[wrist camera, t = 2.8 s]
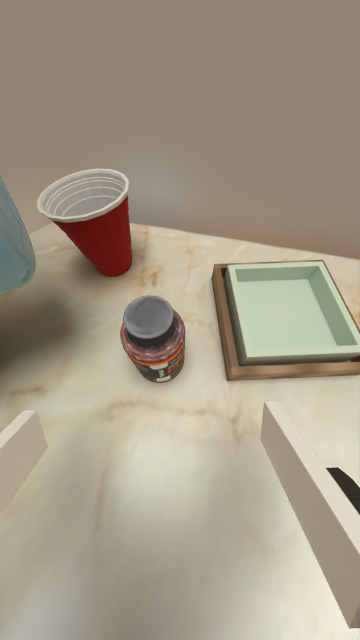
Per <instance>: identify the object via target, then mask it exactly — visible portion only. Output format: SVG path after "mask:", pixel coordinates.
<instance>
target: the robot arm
mask: <svg viewBox="0 0 360 640" xmlns="http://www.w3.org/2000/svg"><path fill="white" fill-rule="evenodd" d="M35 268H36V261H35V255H34V251H33V247H32V244H31V241H30V238H29V236H28V233H27V230H26V228H25V226H24V223H23V221H22V219H21V217H20V215H19V212H18V210H17V208H16V206H15V204H14V202H13V200H12V198H11V196H10V194H9V192H8V190H7V188H6V186H5V184H4V182H3V181H2V179H1V177H0V295H3V294H5V293H8V292H10V291H12V290H15V289H17V288H19V287H22V286H24V285H25V284H27V283H28V282H29V281H30V280H31V279H32V277H33V275H34V272H35ZM260 439H261V442H262V444H263V446H264V448H265V450H266V452H267V454H268V456H269V459H270V461H271V463H272V465H273V467H274V469H275V471H276V473H277V476H278V478H279V480H280V482H281V484H282V486H283V488H284V490H285V493H286V495H287V497H288V499H289V501H290V503H291V505H292V507H293V510H294V512H295V514H296V516H297V518H298V520H299V522H300V525H301V527H302V529H303V531H304V533H305V535H306V537H307V539H308V542H309V544H310V546H311V548H312V550H313V552H314V554H315V556H316V559H317V561H318V563H319V565H320V567H321V569H322V571H323V573H324V576H325V578H326V580H327V582H328V584H329V586H330V588H331V590H332V593H333V595H334V597H335V599H336V601H337V603H338V605H339V607H340V610H341V612H342V614H343V616H344V618H345V620H346V622H347V624H348V627H349V628H360V488H359V487H358V485H357V484H356V483H355V482H354V480H353V479H351V478H350V477H349V476H348V475H347V474H345V473H344V472H343V471H342V470H340V469H339V468H325V466H324V465H323V464H322V462H321V461H320V459H319V458H318V457H317V455H316V454H315V452H314V451H313V450H312V448H311V447H310V446H309V444H308V443H307V441H306V440H305V439H304V437H303V436H302V434H301V433H300V432H299V430H298V429H297V428H296V426H295V425H294V423H293V422H292V421H291V419H290V418H289V416H288V415H287V414H286V412H285V411H284V409H283V408H282V407H281V405H280V404H279V403H278V401H264V408H263V418H262V428H261V438H260ZM46 449H47V444H46V440H45V437H44V433H43V430H42V426H41V423H40V419H39V415H38V412H37V410H24V411H23V412H22V413H21V414H20V415H18V416H17V417H16V418H15V419H14V420H13V421H12V422H11V423H10V424H9V425H8V426H7V427H6V428H5V429H4V430H3V431H2V432H1V433H0V515H1V513H2V512H3V510H4V509H5V508H6V506H7V505H8V503H9V502H10V500H11V499H12V498H13V496H14V495H15V493H16V492H17V490H18V489H19V487H20V486H21V485H22V483H23V482H24V480H25V479H26V477H27V476H28V475H29V473H30V472H31V470H32V469H33V467H34V466H35V465H36V463H37V462H38V460H39V459H40V457H41V456H42V454H43V453H44V452H45V450H46Z"/></svg>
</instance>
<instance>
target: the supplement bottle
mask: <svg viewBox="0 0 360 640" xmlns="http://www.w3.org/2000/svg"><path fill="white" fill-rule="evenodd" d="M120 336H121V342H122V345H123V348H124V350H125V351H126V353H127V354H128V356H129V357H130V359H131V360H132V361H133V363H134V364H135V366H136V367H137V369H138V370H139V371H140V373H141V374H142V375H143V376H144V377H145V378H147V379H148V380H150V381H153V382H165V381H168V380H171V379H172V378H174V377H175V376H176V375H177V374H178V373H179V372H180V370H181V368H182V366H183V363H184V349H185V326H184V323H183V321H182V319H181V317H180V316H179V314H178V313H177V312H176V311H175V310H173V309H172V307H171V306H170V304H169V303H168V302H167V301H166V300H164V299H163V298H160V297H157V296H151V295H148V296H143V297H140V298H137V299H136V300H134V301H133V302H131V303H130V304H129V305H128V307H127V308H126V310H125V312H124V316H123V324H122V327H121V332H120Z"/></svg>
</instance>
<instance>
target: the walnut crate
mask: <svg viewBox="0 0 360 640" xmlns="http://www.w3.org/2000/svg"><path fill="white" fill-rule="evenodd" d="M319 261H322V262H323V264H324V265H325V267H326V269H327V271H328V273H329V275H330V277H331V279H332V281H333V283H334V285H335V287H336V289H337V291H338V293H339V295H340V297H341V299H342V300H343V302H344V304H345V306H346V308H347V310H348V312H349V314H350V316H351V318H352V320H353V322H354V324H355V326H356V328H357V330H358V332H359V334H360V330H359V328H358V326H357V324H356V322H355V320H354V318H353V316H352V314H351V313H350V311H349V309H348V307H347V305H346V303H345V301H344V299H343V297H342V295H341V293H340V291H339V289H338V288H337V286H336V284H335V282H334V280H333V278H332V276H331V274H330V272H329V270H328V268H327V266H326V264H325V262H324V261H323V260H308V261H282V262H257V263H231V264H214V269H213V274H212V283H213V290H214V296H215V303H216V310H217V316H218V323H219V330H220V336H221V343H222V350H223V356H224V363H225V370H226V376H227V381H232V380H254V379H276V378H299V377H321V376H343V375H359V374H360V356H357V357H355V358H352V359H350V360H347V361H343V362H321V363H298V364H275V365H253V366H239V364H238V358H237V353H236V348H235V342H234V337H233V331H232V326H231V320H230V315H229V309H228V304H227V299H226V293H225V288H224V282H223V281H224V278H225V274H226V270H227V267H228V265H242V264H268V263H293V262H319Z"/></svg>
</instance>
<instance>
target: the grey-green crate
mask: <svg viewBox="0 0 360 640" xmlns="http://www.w3.org/2000/svg"><path fill="white" fill-rule="evenodd" d="M223 282H224V288H225V293H226V299H227V304H228V309H229V315H230V320H231V326H232V331H233V337H234V342H235V348H236V353H237V358H238V364H239V366H253V365H275V364H298V363H321V362H343V361H347V360H350V359H352V358H355V357H357V356H360V334H359V332H358V330H357V328H356V326H355V324H354V322H353V320H352V318H351V316H350V314H349V312H348V310H347V308H346V306H345V304H344V302H343V300H342V299H341V297H340V295H339V293H338V291H337V289H336V287H335V285H334V283H333V281H332V279H331V277H330V275H329V273H328V271H327V269H326V267H325V265H324V264H323V262H322V261H319V262H293V263H268V264H242V265H228V267H227V270H226V274H225V278H224V281H223Z"/></svg>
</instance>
